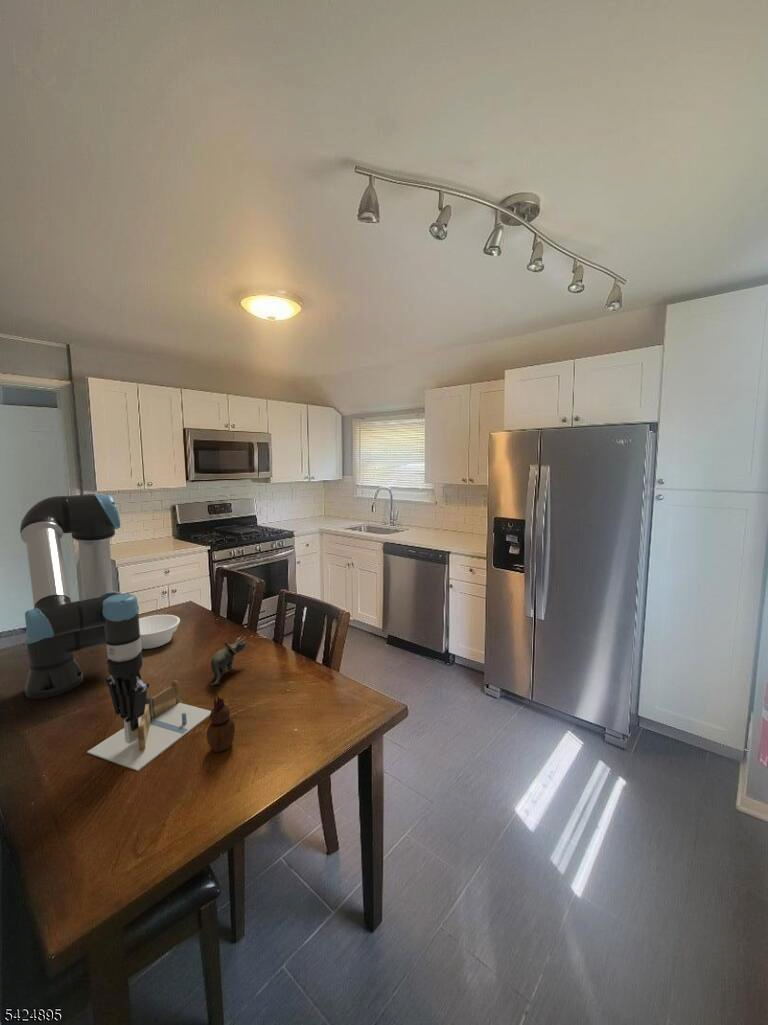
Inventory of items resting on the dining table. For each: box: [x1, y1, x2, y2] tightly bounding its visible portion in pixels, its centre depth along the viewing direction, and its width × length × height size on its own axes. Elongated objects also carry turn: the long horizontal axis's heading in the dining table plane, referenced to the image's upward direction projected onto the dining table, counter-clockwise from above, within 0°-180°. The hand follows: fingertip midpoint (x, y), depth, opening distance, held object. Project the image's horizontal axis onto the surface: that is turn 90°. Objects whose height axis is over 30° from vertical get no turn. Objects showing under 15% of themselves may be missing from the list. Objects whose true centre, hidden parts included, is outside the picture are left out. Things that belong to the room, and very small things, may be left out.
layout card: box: [86, 701, 211, 772], centre depth 116 cm, size 18×25×3 cm
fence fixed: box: [145, 679, 180, 722], centre depth 125 cm, size 2×11×8 cm, turn 159°
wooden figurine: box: [206, 696, 236, 753], centre depth 109 cm, size 7×6×15 cm
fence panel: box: [137, 704, 150, 751], centre depth 113 cm, size 12×1×6 cm, turn 22°
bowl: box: [139, 614, 181, 650], centre depth 172 cm, size 21×21×8 cm
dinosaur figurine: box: [209, 634, 247, 686], centre depth 144 cm, size 22×8×11 cm, turn 168°
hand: (132, 739), depth 111 cm, fingers closed
